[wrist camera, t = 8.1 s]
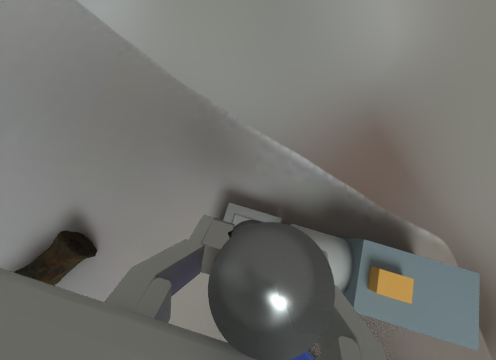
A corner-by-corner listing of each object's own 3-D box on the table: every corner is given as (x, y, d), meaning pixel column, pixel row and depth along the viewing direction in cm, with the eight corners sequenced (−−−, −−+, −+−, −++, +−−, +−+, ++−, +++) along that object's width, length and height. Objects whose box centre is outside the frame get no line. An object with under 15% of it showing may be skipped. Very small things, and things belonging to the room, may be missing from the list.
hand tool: (85, 228, 25) (51, 228, 21) (103, 252, 25) (72, 258, 20) (-65, 346, 22) (-144, 376, 18) (-49, 377, 22) (-126, 417, 17)
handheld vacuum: (213, 255, 25) (200, 268, 17) (230, 204, 26) (224, 194, 18) (410, 316, 24) (495, 361, 16) (415, 260, 25) (495, 275, 17)
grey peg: (220, 262, 15) (163, 353, 4) (235, 215, 16) (219, 186, 5) (267, 276, 15) (337, 411, 4) (279, 228, 15) (364, 229, 5)
